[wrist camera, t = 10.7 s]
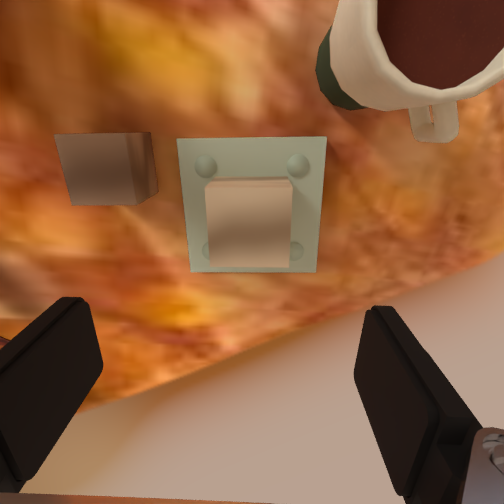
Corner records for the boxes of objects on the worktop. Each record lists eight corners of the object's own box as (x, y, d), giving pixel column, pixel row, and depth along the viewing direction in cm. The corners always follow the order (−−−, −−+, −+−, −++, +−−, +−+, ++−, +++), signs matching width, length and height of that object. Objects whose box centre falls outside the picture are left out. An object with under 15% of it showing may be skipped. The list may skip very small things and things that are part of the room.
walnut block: (92, 133, 25) (53, 134, 20) (150, 132, 24) (124, 133, 20) (105, 192, 27) (71, 205, 22) (158, 191, 26) (136, 205, 22)
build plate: (180, 138, 24) (175, 138, 23) (324, 136, 24) (327, 136, 23) (193, 266, 29) (190, 272, 28) (313, 266, 29) (316, 273, 27)
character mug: (415, 120, 23) (577, 111, 11) (329, 153, 24) (392, 177, 13) (390, -47, 19) (594, -328, 7) (288, 2, 21) (325, -172, 9)
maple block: (215, 176, 24) (204, 187, 20) (287, 176, 24) (292, 187, 20) (219, 243, 27) (210, 266, 22) (284, 243, 27) (288, 267, 22)
